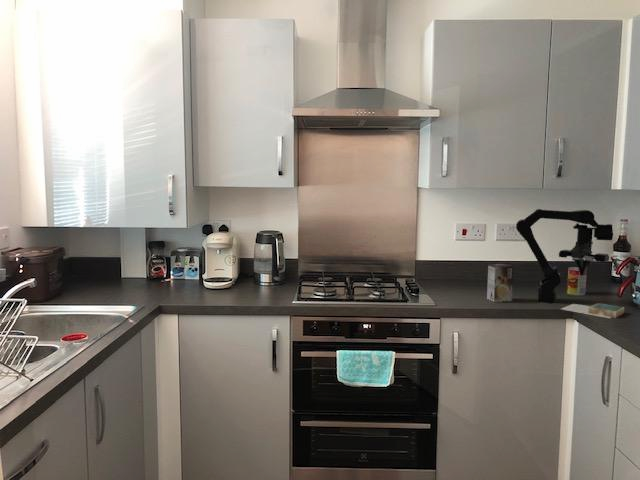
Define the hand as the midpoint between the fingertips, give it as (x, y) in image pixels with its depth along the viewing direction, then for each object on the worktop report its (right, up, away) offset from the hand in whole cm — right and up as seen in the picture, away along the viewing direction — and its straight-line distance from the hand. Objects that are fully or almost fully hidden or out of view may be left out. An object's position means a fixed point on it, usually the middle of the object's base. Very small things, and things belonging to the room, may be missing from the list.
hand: (582, 275), depth 226 cm
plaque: (-1, -13, -11) cm, 17 cm away
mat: (-1, -14, -10) cm, 18 cm away
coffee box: (-32, -12, +9) cm, 36 cm away
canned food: (+9, -10, +24) cm, 28 cm away
